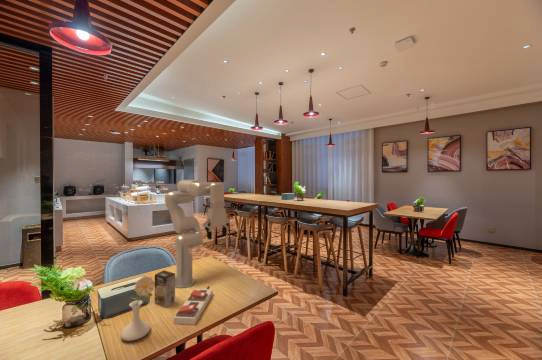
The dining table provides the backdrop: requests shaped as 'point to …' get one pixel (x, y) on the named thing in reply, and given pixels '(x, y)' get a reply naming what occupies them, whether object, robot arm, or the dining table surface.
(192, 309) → the near rocker
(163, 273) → the coffee box
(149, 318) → the dining table surface
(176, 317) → the power strip
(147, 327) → the flower in vase
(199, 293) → the far rocker
